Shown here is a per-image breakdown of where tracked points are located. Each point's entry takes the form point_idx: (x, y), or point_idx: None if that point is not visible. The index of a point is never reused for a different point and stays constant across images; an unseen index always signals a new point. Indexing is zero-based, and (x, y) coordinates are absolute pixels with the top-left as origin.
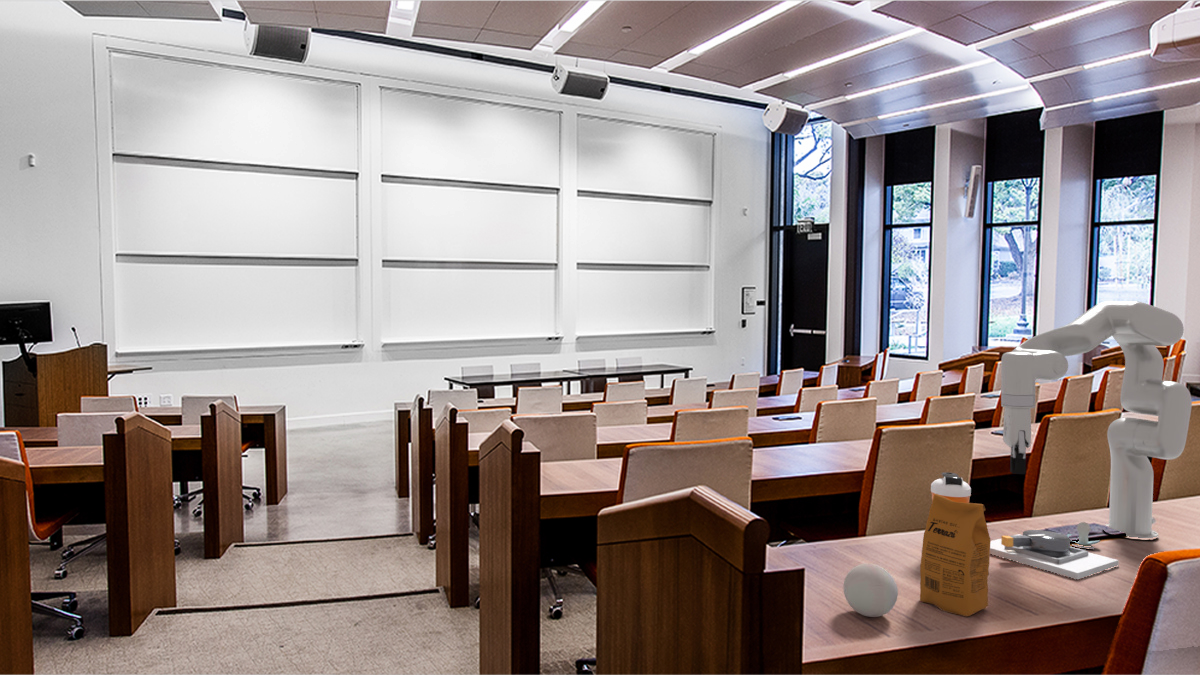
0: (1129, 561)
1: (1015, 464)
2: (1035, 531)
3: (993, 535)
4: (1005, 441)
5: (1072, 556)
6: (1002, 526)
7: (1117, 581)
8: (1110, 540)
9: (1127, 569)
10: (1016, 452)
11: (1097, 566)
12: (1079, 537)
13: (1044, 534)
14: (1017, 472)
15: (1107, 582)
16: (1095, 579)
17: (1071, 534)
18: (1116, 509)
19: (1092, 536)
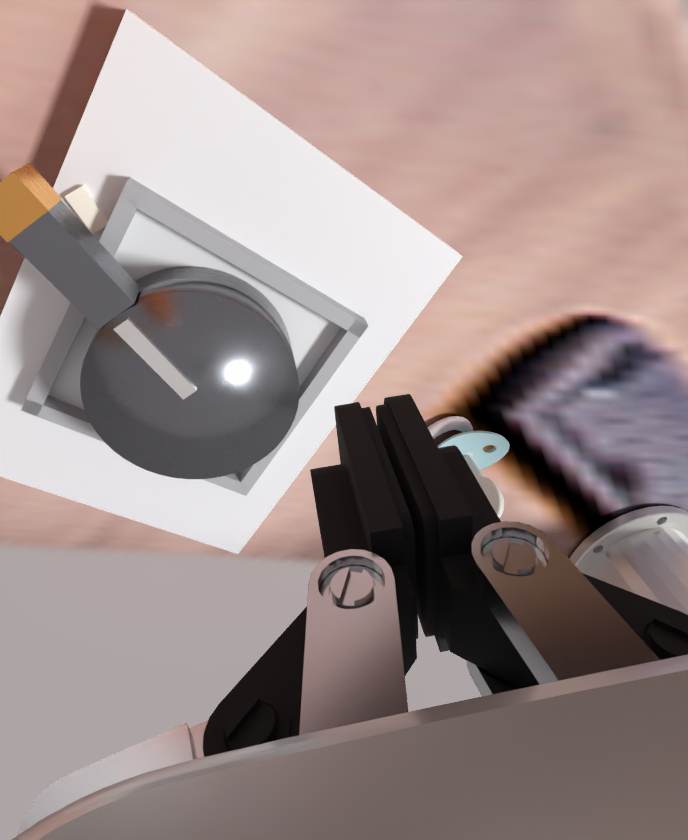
0: (322, 558)
1: (323, 513)
2: (254, 353)
3: (502, 128)
4: (573, 761)
5: None
6: (679, 182)
7: (52, 535)
8: (549, 520)
9: (224, 554)
10: (222, 715)
11: (102, 508)
12: (469, 466)
13: (193, 392)
14: (342, 461)
15: (13, 514)
16: (21, 486)
17: (508, 444)
18: (664, 600)
19: (585, 481)
